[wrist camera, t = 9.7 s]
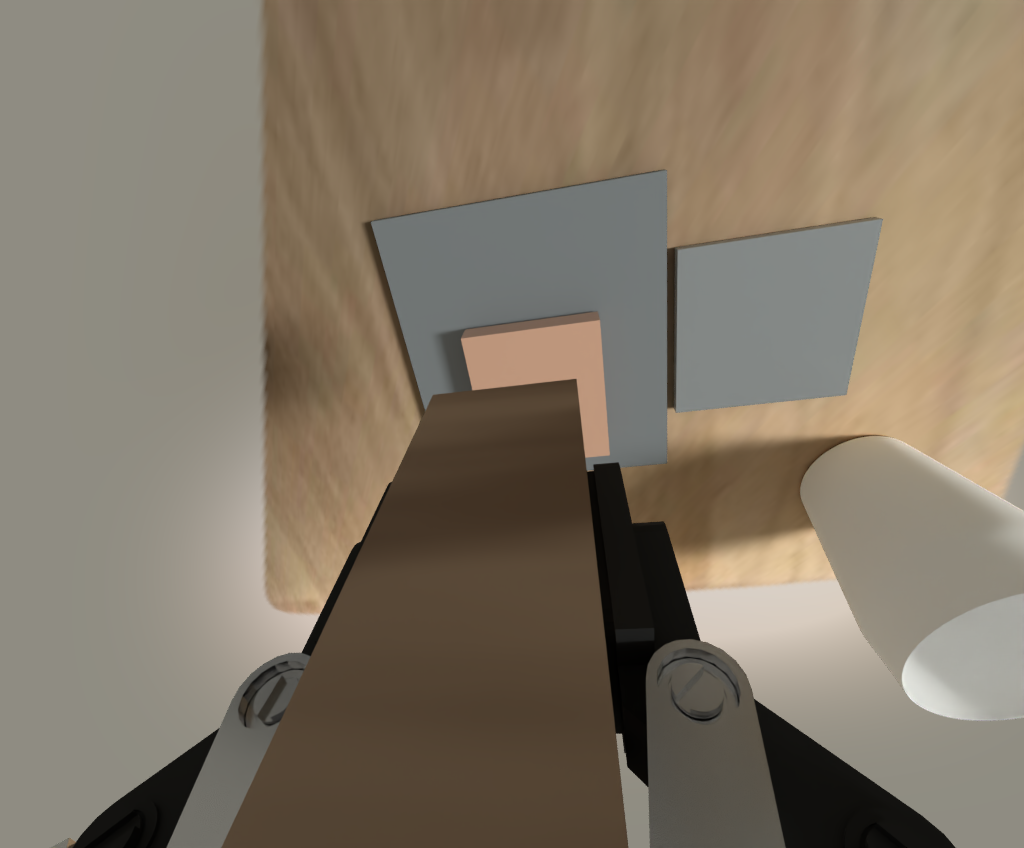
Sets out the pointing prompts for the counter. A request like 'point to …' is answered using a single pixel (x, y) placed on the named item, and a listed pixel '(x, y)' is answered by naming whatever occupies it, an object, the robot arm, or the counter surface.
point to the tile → (546, 364)
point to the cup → (926, 573)
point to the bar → (459, 654)
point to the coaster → (770, 315)
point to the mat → (544, 289)
